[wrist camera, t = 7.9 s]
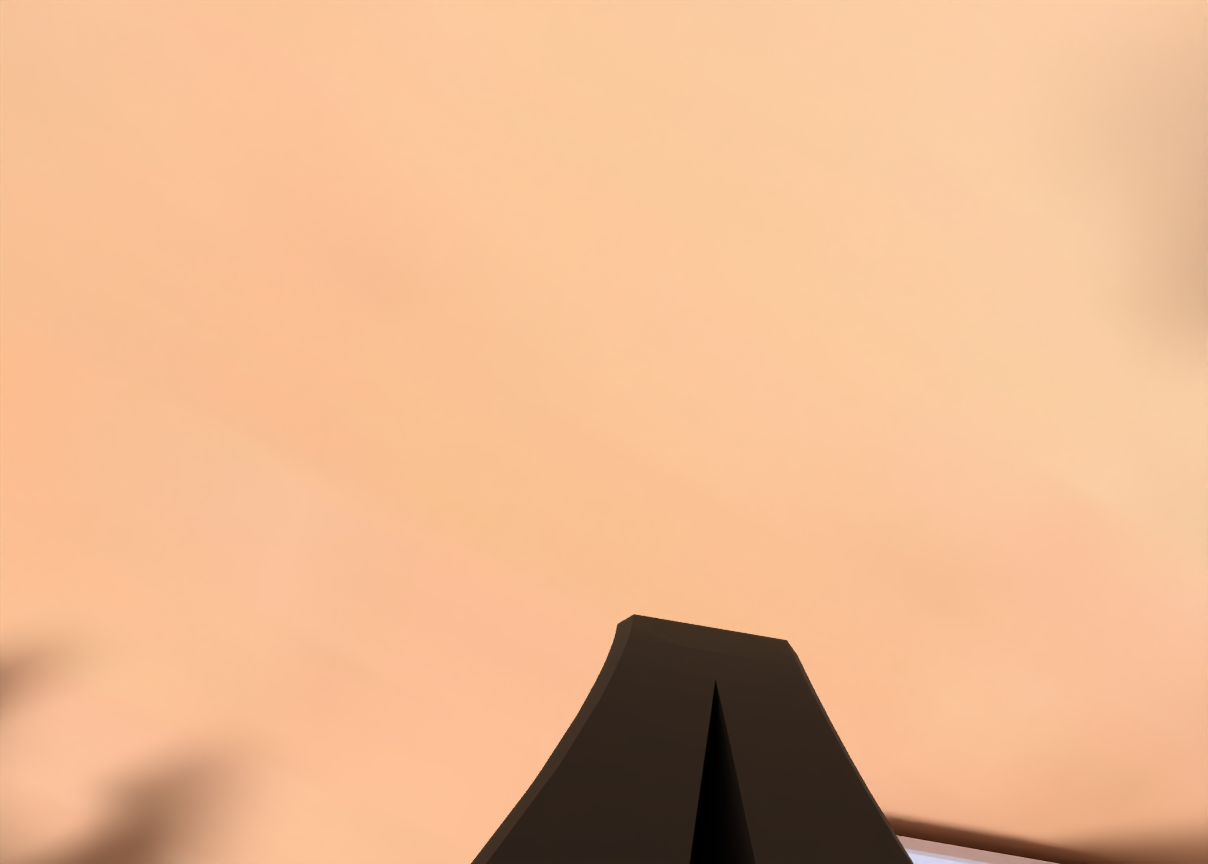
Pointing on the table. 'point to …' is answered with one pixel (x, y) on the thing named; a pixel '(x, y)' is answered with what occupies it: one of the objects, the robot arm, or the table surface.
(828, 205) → the table surface
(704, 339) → the table surface
